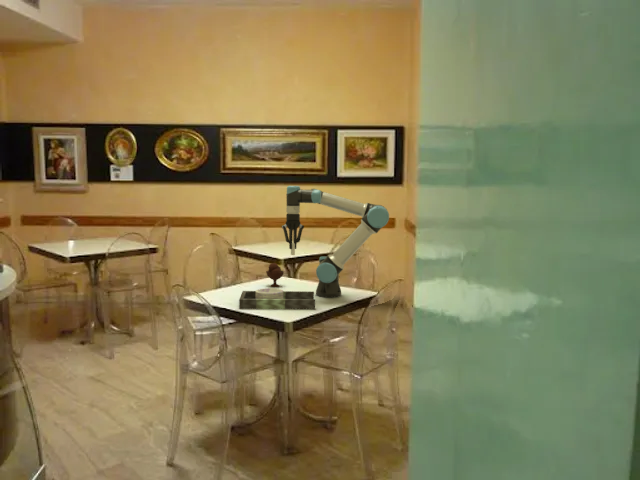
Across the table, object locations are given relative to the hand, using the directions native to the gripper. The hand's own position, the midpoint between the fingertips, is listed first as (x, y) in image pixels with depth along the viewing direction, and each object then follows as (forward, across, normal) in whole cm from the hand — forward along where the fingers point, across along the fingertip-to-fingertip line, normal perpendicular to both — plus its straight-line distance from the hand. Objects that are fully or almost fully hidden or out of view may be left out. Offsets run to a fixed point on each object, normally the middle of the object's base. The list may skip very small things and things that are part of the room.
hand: (292, 254), depth 327 cm
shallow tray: (+25, -12, -12) cm, 31 cm away
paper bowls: (+26, -17, -11) cm, 32 cm away
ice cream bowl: (+25, 0, +36) cm, 44 cm away
